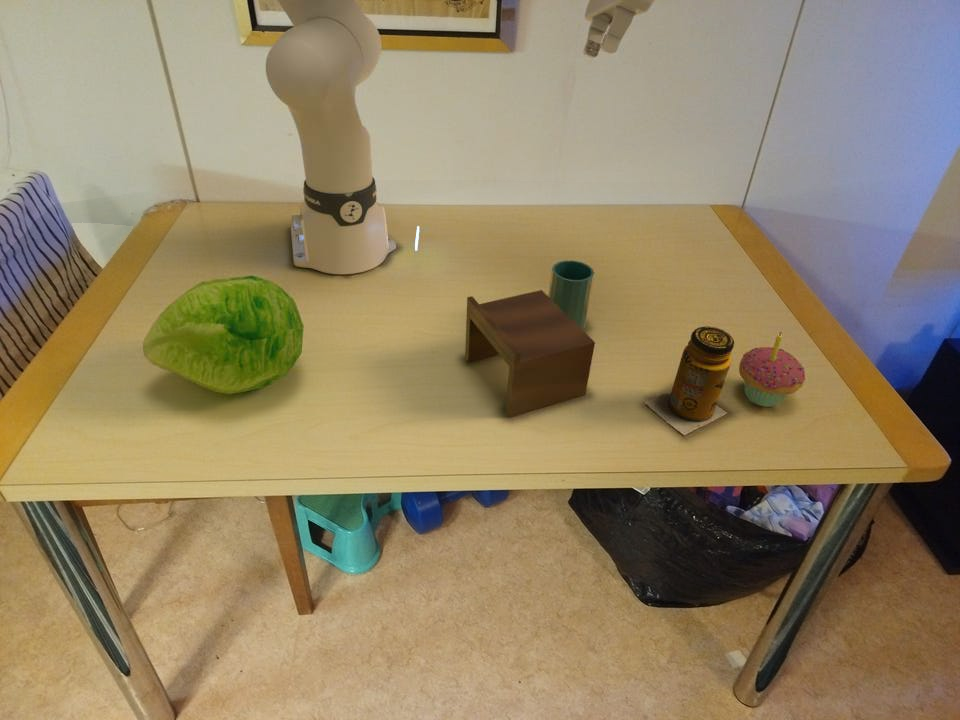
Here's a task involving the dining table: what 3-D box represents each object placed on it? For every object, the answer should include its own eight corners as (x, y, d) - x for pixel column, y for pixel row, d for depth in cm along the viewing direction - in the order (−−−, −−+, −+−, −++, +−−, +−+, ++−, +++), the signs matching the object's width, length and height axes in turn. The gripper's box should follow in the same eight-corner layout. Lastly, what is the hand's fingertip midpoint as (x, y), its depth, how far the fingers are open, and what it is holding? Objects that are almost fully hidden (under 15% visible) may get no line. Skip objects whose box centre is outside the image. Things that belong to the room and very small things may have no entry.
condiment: (727, 414, 89) (753, 342, 82) (683, 436, 85) (707, 363, 78) (686, 384, 94) (707, 314, 87) (644, 404, 90) (662, 333, 83)
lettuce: (184, 361, 97) (150, 266, 89) (321, 345, 98) (300, 250, 90) (148, 429, 83) (103, 324, 75) (309, 410, 84) (282, 304, 76)
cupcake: (773, 424, 88) (804, 353, 81) (718, 392, 93) (742, 322, 86) (804, 398, 93) (836, 328, 85) (750, 369, 97) (776, 300, 90)
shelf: (464, 358, 97) (467, 297, 90) (535, 339, 101) (542, 280, 95) (509, 417, 87) (515, 353, 80) (585, 394, 91) (597, 332, 85)
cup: (538, 319, 106) (544, 264, 99) (571, 311, 108) (579, 257, 102) (558, 340, 101) (566, 284, 95) (592, 331, 103) (602, 276, 97)
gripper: (598, -56, 89) (560, 50, 94) (645, -97, 70) (594, 38, 75) (639, -37, 90) (600, 66, 95) (696, -73, 71) (643, 59, 76)
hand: (597, 54), depth 85 cm, fingers open, 8 cm apart
